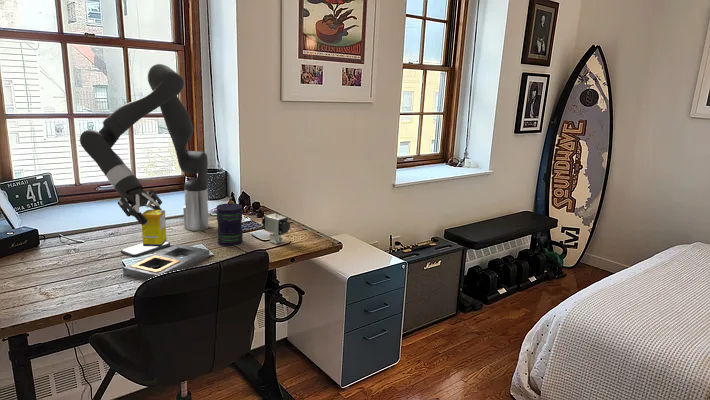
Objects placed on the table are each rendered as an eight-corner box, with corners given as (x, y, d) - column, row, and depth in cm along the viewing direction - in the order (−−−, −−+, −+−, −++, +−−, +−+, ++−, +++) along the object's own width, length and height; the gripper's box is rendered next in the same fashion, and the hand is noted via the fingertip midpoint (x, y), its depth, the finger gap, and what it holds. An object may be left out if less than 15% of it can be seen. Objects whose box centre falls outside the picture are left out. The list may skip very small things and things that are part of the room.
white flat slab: (134, 259, 173) (171, 246, 186) (134, 255, 173) (171, 242, 186) (119, 254, 178) (156, 241, 191) (119, 250, 177) (156, 237, 190)
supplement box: (148, 240, 163) (147, 209, 160) (167, 241, 163) (165, 209, 161) (142, 246, 157) (140, 214, 154) (161, 246, 157) (159, 214, 155)
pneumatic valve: (281, 247, 190) (282, 218, 187) (261, 240, 197) (261, 212, 194) (291, 243, 194) (292, 215, 191) (271, 237, 201) (271, 209, 198)
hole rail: (123, 274, 159) (122, 266, 158) (177, 249, 182) (177, 242, 182) (158, 282, 154) (157, 274, 153) (209, 256, 177) (209, 249, 177)
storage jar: (241, 246, 189) (241, 209, 185) (216, 246, 187) (214, 210, 183) (243, 238, 198) (242, 203, 195) (218, 238, 197) (217, 203, 193)
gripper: (112, 178, 151) (143, 219, 150) (146, 170, 164) (175, 208, 163) (100, 192, 154) (131, 232, 153) (135, 184, 167) (163, 221, 166)
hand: (154, 220), depth 158 cm, fingers closed on supplement box, 7 cm apart
